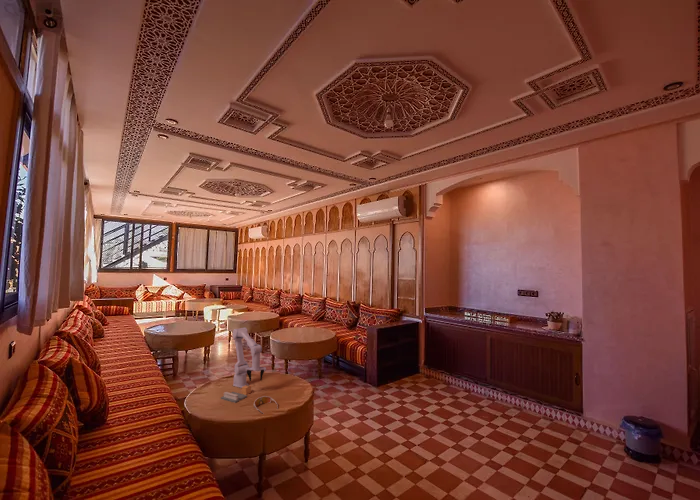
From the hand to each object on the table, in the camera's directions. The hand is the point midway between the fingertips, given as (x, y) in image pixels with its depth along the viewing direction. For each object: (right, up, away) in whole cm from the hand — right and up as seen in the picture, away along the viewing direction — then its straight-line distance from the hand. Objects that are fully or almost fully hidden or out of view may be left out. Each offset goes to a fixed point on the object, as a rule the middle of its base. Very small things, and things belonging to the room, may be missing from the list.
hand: (255, 380), depth 236 cm
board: (-13, -9, -9) cm, 18 cm away
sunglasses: (+14, -9, -23) cm, 28 cm away
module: (-6, -9, -1) cm, 11 cm away
